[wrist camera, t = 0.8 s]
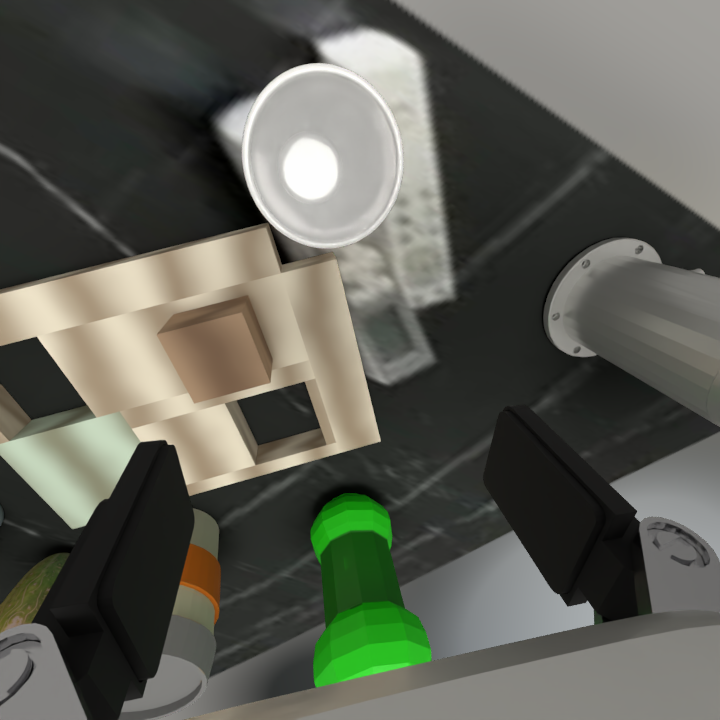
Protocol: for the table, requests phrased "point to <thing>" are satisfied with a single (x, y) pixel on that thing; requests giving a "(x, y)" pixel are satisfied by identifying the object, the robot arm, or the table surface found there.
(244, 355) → the block
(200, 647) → the reusable coffee cup
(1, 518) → the drinking glass
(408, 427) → the table surface
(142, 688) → the robot arm
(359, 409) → the board
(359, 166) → the drinking glass
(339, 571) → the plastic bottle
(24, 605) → the vegetable
